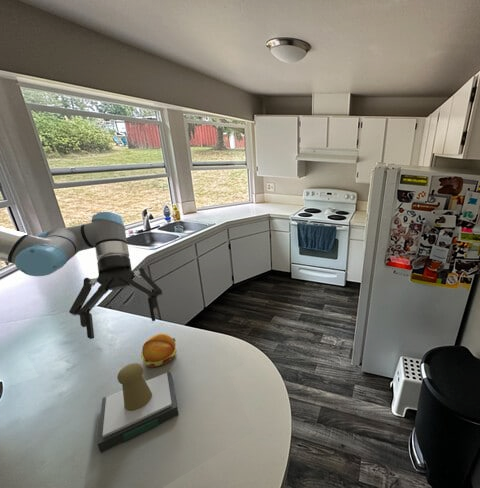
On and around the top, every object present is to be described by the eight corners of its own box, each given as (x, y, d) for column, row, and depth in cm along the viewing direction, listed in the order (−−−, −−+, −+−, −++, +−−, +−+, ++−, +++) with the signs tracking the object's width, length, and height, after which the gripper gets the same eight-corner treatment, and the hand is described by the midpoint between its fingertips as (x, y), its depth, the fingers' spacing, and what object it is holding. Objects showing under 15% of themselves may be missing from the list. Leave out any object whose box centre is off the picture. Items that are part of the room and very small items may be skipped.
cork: (156, 397, 67) (148, 365, 64) (130, 415, 63) (120, 382, 59) (145, 386, 70) (137, 355, 67) (120, 402, 66) (109, 371, 62)
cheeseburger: (172, 341, 92) (170, 322, 87) (182, 363, 86) (180, 344, 81) (139, 355, 85) (135, 335, 80) (147, 379, 79) (143, 360, 74)
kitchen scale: (100, 455, 58) (95, 444, 56) (105, 405, 69) (101, 395, 67) (179, 416, 67) (176, 406, 65) (172, 378, 78) (170, 368, 76)
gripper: (163, 256, 85) (176, 316, 78) (60, 273, 71) (65, 348, 64) (161, 246, 79) (175, 310, 73) (49, 263, 65) (54, 344, 59)
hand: (124, 328), depth 68 cm, fingers open, 13 cm apart
